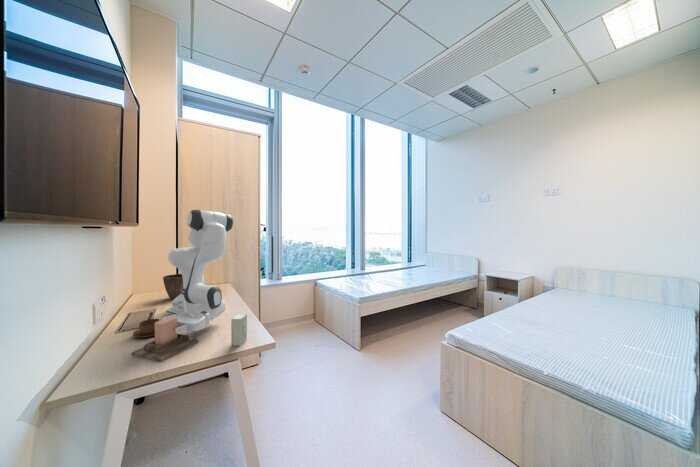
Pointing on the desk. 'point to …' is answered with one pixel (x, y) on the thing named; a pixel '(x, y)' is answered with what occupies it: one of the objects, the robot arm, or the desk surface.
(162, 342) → the keyed block
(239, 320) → the skincare box
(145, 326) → the cup and saucer
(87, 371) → the desk surface
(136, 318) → the desk surface
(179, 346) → the keyed holder
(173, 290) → the plant pot
